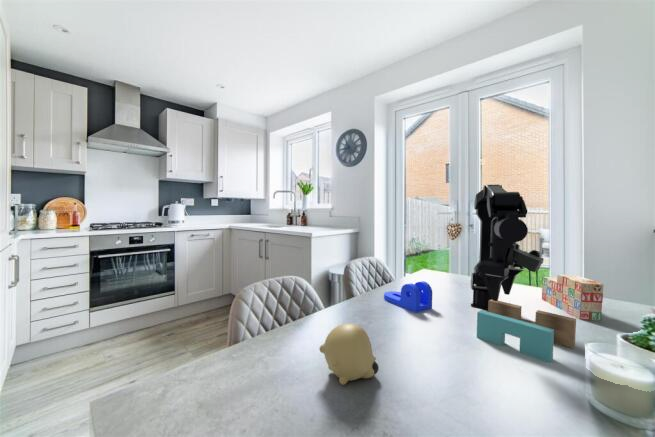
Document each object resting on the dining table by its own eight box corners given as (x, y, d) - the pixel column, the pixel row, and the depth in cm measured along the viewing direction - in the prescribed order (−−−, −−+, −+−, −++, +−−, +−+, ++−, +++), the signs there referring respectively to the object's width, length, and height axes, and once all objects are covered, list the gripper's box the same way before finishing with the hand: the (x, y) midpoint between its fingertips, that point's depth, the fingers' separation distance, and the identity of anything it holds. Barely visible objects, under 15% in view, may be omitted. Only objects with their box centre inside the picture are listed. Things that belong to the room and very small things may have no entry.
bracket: (431, 309, 98) (432, 283, 98) (415, 313, 93) (416, 286, 93) (394, 295, 113) (395, 273, 113) (379, 298, 109) (380, 275, 109)
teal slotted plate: (476, 337, 76) (477, 312, 76) (480, 334, 77) (481, 309, 77) (550, 362, 63) (551, 332, 63) (552, 358, 65) (554, 329, 65)
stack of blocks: (541, 299, 111) (542, 268, 110) (558, 300, 110) (559, 269, 109) (579, 320, 90) (581, 282, 89) (602, 321, 89) (604, 283, 88)
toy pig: (361, 407, 53) (397, 362, 56) (325, 371, 49) (364, 325, 52) (339, 377, 62) (370, 340, 65) (306, 345, 58) (341, 307, 61)
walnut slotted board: (487, 323, 86) (488, 300, 85) (490, 321, 87) (491, 299, 87) (573, 348, 70) (574, 321, 70) (575, 345, 72) (576, 318, 72)
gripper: (530, 244, 61) (527, 313, 62) (549, 240, 74) (547, 298, 74) (476, 239, 70) (474, 301, 70) (501, 236, 82) (500, 289, 82)
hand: (501, 297), depth 74 cm, fingers open, 9 cm apart
